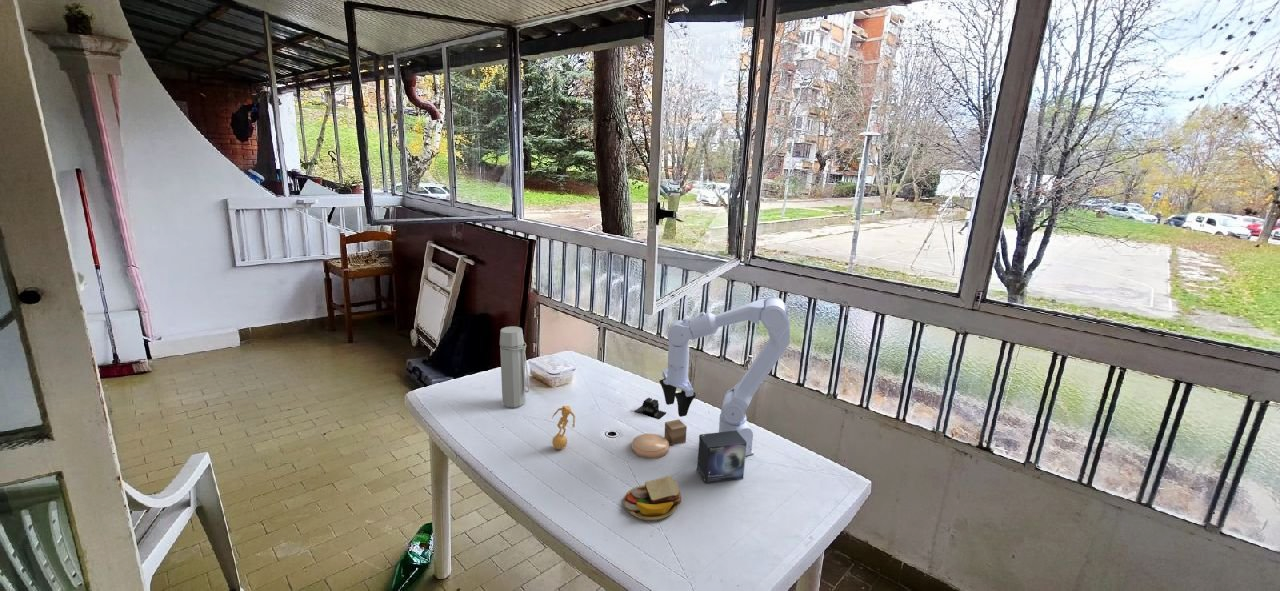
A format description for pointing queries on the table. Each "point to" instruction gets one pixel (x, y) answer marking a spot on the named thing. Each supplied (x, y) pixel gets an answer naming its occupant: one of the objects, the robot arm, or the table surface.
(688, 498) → the table surface
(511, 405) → the water bottle
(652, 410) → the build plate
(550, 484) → the table surface
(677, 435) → the walnut block
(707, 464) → the small box
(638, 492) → the toy sandwich meal
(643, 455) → the pedestal
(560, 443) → the figurine
